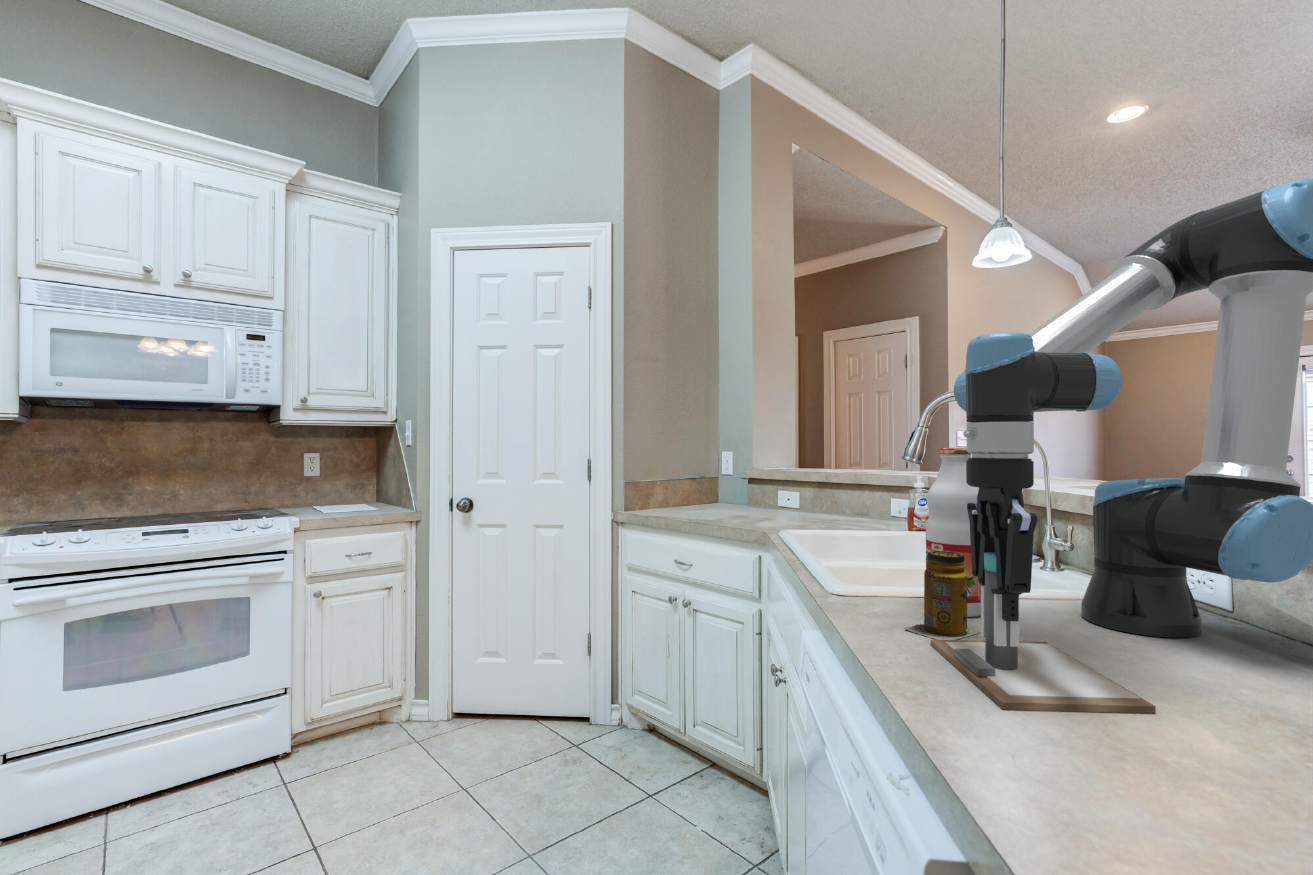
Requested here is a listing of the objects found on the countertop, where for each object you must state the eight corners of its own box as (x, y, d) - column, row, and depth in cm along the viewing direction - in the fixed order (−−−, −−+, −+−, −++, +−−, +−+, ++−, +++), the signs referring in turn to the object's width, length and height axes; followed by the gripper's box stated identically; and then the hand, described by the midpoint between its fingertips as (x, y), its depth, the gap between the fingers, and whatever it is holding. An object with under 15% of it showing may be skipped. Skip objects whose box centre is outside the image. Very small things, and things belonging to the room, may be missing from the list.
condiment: (979, 633, 94) (979, 554, 94) (947, 643, 90) (947, 561, 90) (935, 621, 100) (935, 547, 100) (903, 630, 96) (903, 553, 96)
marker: (1011, 660, 80) (1011, 552, 80) (1024, 671, 76) (1023, 557, 76) (980, 658, 80) (979, 551, 80) (990, 669, 77) (990, 556, 77)
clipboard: (1046, 647, 88) (1046, 633, 88) (1155, 713, 67) (1155, 696, 67) (930, 645, 89) (930, 631, 89) (1002, 709, 68) (1002, 692, 68)
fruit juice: (999, 614, 104) (999, 448, 104) (956, 620, 100) (956, 448, 100) (954, 600, 112) (954, 447, 112) (913, 605, 109) (913, 447, 109)
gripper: (944, 454, 87) (944, 622, 87) (999, 457, 71) (999, 662, 71) (999, 454, 86) (999, 623, 86) (1066, 458, 71) (1067, 663, 70)
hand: (999, 640), depth 79 cm, fingers closed on marker, 3 cm apart
